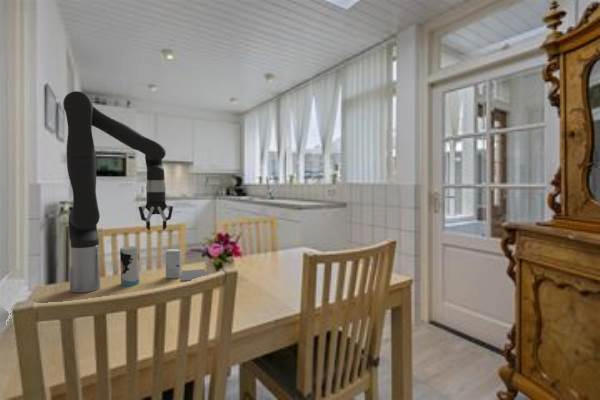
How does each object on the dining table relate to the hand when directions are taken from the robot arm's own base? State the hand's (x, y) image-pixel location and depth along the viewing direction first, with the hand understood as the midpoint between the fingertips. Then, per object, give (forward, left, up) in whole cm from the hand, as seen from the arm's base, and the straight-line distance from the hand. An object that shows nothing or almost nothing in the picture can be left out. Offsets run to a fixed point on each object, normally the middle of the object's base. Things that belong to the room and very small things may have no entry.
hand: (156, 229), depth 144 cm
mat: (+16, 0, -21) cm, 27 cm away
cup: (-10, -5, -22) cm, 24 cm away
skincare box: (+7, 0, -22) cm, 23 cm away
